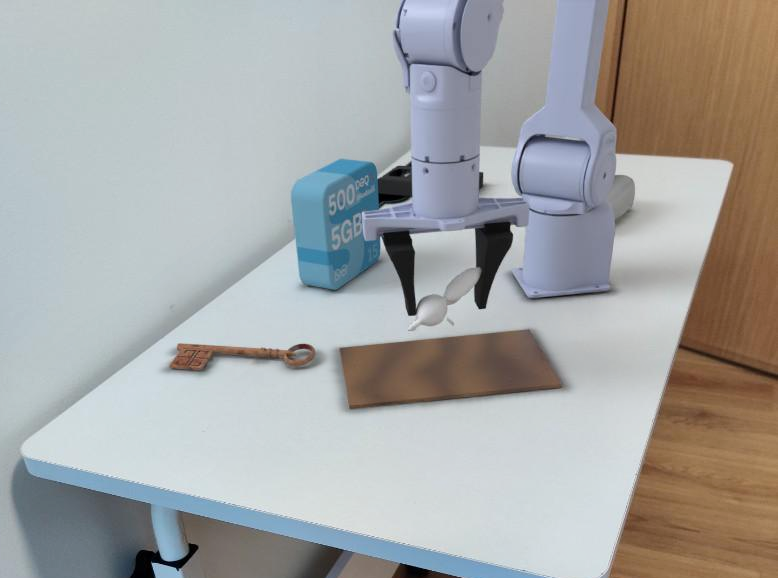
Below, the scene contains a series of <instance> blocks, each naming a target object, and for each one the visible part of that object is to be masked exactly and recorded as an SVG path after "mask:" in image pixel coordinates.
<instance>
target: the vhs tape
mask: <svg viewBox="0 0 778 578" xmlns="http://www.w3.org/2000/svg"><path fill="white" fill-rule="evenodd" d="M377 179H378V194H380V195H381V194H382V195H392V196H403V197H412V165H397V166H395V167H393V168H392V169H391V170H389V171H388V172H386V173H385V174H383V175H382V176H379V177H377ZM483 187H484V172H483V171H479V190H481V189H482V188H483Z"/></svg>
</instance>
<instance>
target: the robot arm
mask: <svg viewBox="0 0 778 578" xmlns="http://www.w3.org/2000/svg"><path fill="white" fill-rule="evenodd" d="M504 1H505V0H401V1H400V3H399V4H398V8H397V11H396V16H395V24H394V29H393V30H392V32H391V33H392V43H393V48H394V52H395V55H396V57H397V60H398V62H399V64H400V67H401V71H402V87H404V91H405V93H407V94H409V98H410V99H409V104H410V106H409V107H410V155H411V157H410V158H411V166H412V196H411V198H412V202H408V203H403V204H399V205H394V206H391V207H386V208H379V210H374V211H366V212H362V227H363V235H364V239H365V241H372V240H377V237H380V238H381V240H382V242H383V247H384V249H385V252H386V253H387V255H388V257H389V259H390V261H391V263H392V266H393V267H394V269H395V271H396V274H397V276H398V278H399V282H400V285H401V290H402V293H403V297H404V298H403V299H404V304H405V311H406V314H407V316H408V317H414V316H415V317H416V308H417V301H416V299H417V298H416V291H415V290H416V289H415V264H416V263H415V262H416V261H415V260H416V250H415V248H414V245H413V238H412V236H411V235H417V234H428V233H439V232H440V233H441V232H456V231H463V230H474V238H475V239H474V240H475V267H480V268H481V270H482V272H481V274H480V277H479V280H478V281H477V283H476V284H475V285H474V287H473V291H474V292H473V296H474V297H473V298H474V299H473V300H474V303H475V305H476V307H477V308H478V310H486V309H487V305H488V301H489V300H488V299H489V296H490V294H491V293H490V292H491V289H492V286H493V283H494V281H495V278H496V276H497V273H498V272H499V271H498V270H499V269H500V266H501V264H502V262H503V260H504V259H505V257H506V255H507V254H508V253H509V250H510V249H511V248H512V245H513V242H514V233H513V232H512V230H511V227H512V226H515V227H516V228H524V227H525V231H524V232H525V233H524V248H523V265H522V267H516V268H513V269H512V275H513V276H514V279H516V281H517V283H518V284H519V286H520V287H521V289H522V290H523V292H524V294H525V296H526V297H527V298H528V299H537V298H546V297H547V298H548V297H557V296H567V295H577V294H579V295H580V294H589V293H600V292H608V291H610V290H611V285H610V284H609V283H610V282H609V281H610V274H611V266H612V258H613V251H614V243H615V236H616V235H615V234H616V220H615V218H614V212H613V209H612V206H611V204H610V203H609V202H608V201H604V200H605V199H606V197H607V196H608V194H609V192H610V190H611V187H612V184H613V181H614V177H615V175H616V171H617V155H616V150H617V149H616V148H617V137H618V134H617V131H618V130H617V127H616V126H615V125H614V124H613V123H612V121H610V119H608V117H607V116H606V115H605V114H604V113H603V112H602V111H601V109H599V108H598V106H597V105H596V103H595V102H596V94H597V87H598V81H599V75H600V68H601V67H600V66H601V59H602V54H603V53H602V52H603V47H604V46H603V45H604V40H605V32H606V25H607V19H608V14H609V13H608V12H609V5H610V0H556V7H555V16H554V23H553V33H552V42H551V49H550V58H549V59H550V60H549V66H548V74H547V75H548V77H547V85H546V93H545V101H544V102H545V103H544V105H543V107H541V108H540V109H539V110H537V111H536V112H535V113H534V114H532V115H531V116H529V117H528V118H527V119H526V120H525V121H524V122H523V123H522V124H521V128H520V132H519V137H518V143H517V147H516V148H515V149H516V150H515V151H514V155H513V157H512V162H511V169H510V171H511V172H510V173H511V174H510V175H511V183H512V187H513V189H514V192H515V193H516V195H517V196H518V197H505V198H504V197H479V194H480V189H479V172H480V161H481V159H480V157H481V120H482V119H481V118H482V117H481V116H482V83H483V81H482V80H483V69H484V68H486V66H487V65H488V63H489V61H490V60H492V59H493V56H494V54H495V50H496V47H497V41H498V37H499V29H500V25H501V22H502V20H503V16H504V13H505V8H504V4H503V3H504ZM551 136H556V137H551ZM560 137H564V138H560ZM569 138H573V139H569ZM577 139H579V140H577Z"/></svg>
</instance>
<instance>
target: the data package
mask: <svg viewBox="0 0 778 578" xmlns="http://www.w3.org/2000/svg"><path fill="white" fill-rule="evenodd" d="M290 201H291V202H290V203H291V212H292V222H293V230H294V239H295V248H296V258H297V267H298V275H299V280H300V281H301V283H302V284H304V285H306V286H312V287H317V288H322V289H328V290H334V291H337V290H338V289H340V288H341V287H343V286H344V285H346V284H348V283H349V282H350V281H351V280H353V279H354V278H356V277H357V276H358V275H360V274H362V273H363V272H364V271H366V270H367V269H368V268H370V267H372V266H373V265H374V264H375V263H377V261H378V260H379V258H380V255H381V249H382V248H381V245H382V244H381V237H377V240H372V241H365V239H364V235H363V227H362V212H366V211H374V210H380V205H379V203H380V202H379V193H378V170H377V166H376V164H375V163H374V162H373V161H366V160H357V159H347V158H339V159H337V160H334V161H333V162H331V163H329V164H326V165H325V166H322V167H321V168H319V169H316V170H314V171H313V172H311V173H309V174H307V175H305V176H303V177H301V178H299V179H298V180H296V181H294V183H293V185H292V187H291V191H290Z"/></svg>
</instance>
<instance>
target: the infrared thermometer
mask: <svg viewBox="0 0 778 578" xmlns="http://www.w3.org/2000/svg"><path fill="white" fill-rule="evenodd" d="M635 196H636V186H635V181H634V179H633V178H632V177H630V176H628V175H625V174H615V177H614V181H613V184H612V187H611V190H610V192H609V194H608V196H607V197H606V199H605V200H604V201H608V202H609V203H610V204H611V206H612V209H613V212H614V218H615V221H616V220H618V219H620V218H621V217H622V216H624V214H626V212H627V211H629V210H630V209H631V208H632V207H633V205H634V201H635V198H636V197H635Z"/></svg>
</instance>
